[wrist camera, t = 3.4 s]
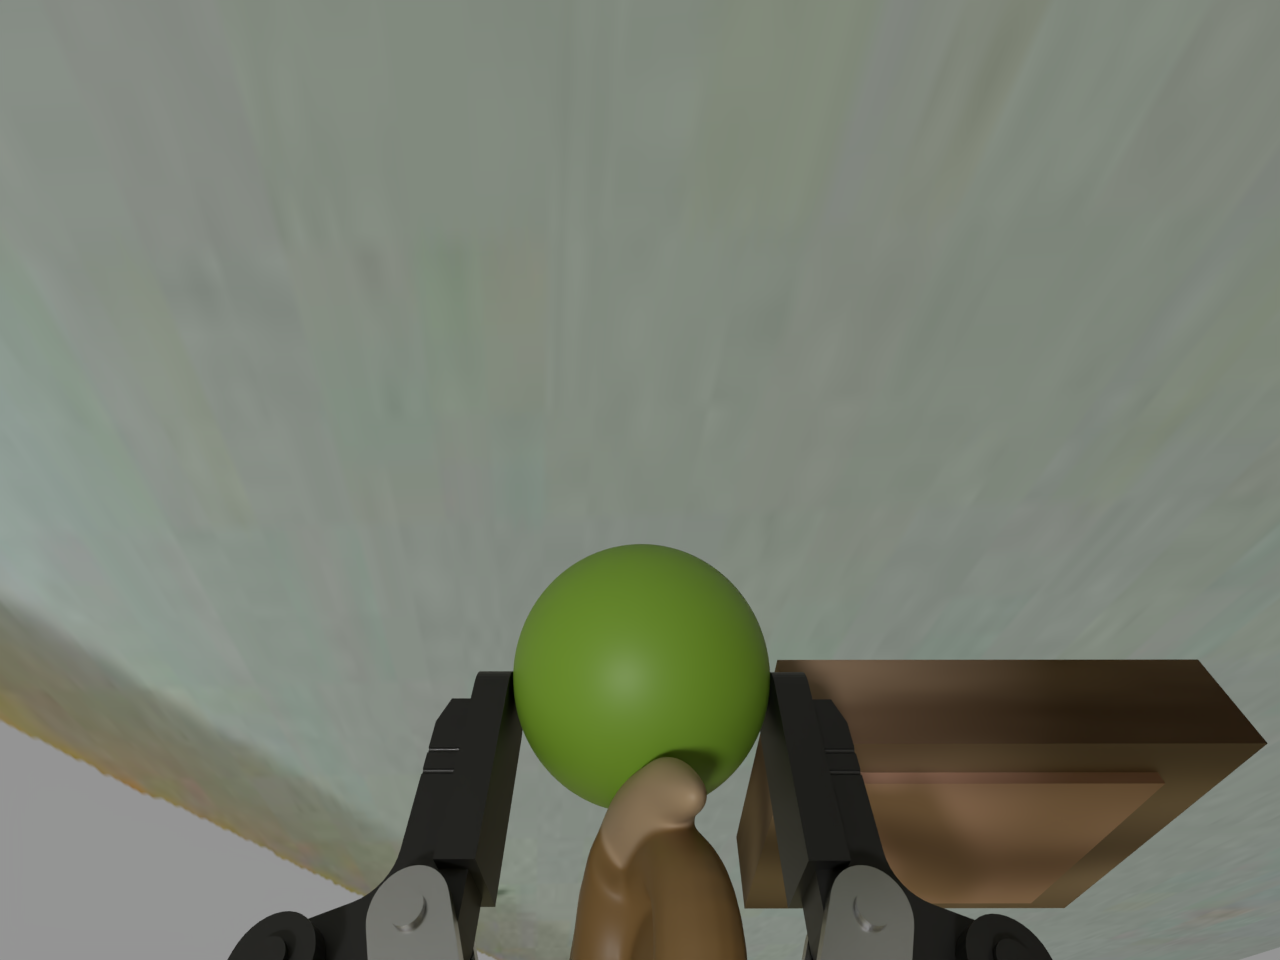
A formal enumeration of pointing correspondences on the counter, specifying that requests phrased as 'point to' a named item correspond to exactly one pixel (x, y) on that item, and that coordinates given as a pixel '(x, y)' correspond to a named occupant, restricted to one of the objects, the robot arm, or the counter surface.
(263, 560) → the counter surface
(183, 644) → the counter surface
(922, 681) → the display plinth
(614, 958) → the snail figurine
